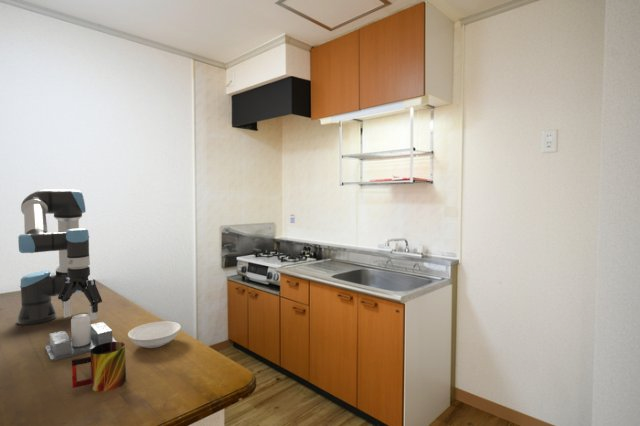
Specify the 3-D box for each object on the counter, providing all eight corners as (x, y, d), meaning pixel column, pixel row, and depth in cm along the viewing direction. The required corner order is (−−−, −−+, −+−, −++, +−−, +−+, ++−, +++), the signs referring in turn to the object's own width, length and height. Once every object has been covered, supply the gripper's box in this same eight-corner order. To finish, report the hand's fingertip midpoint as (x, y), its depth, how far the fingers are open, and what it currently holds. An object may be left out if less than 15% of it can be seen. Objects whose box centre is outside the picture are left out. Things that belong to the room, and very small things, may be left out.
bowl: (191, 338, 151) (191, 324, 151) (156, 359, 133) (155, 342, 132) (154, 332, 158) (154, 318, 158) (116, 351, 139) (115, 335, 139)
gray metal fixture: (45, 348, 142) (44, 334, 142) (106, 333, 158) (106, 320, 157) (51, 361, 131) (50, 346, 131) (117, 343, 146) (116, 330, 146)
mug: (71, 391, 111) (70, 353, 111) (117, 373, 122) (116, 339, 122) (84, 401, 106) (82, 362, 105) (131, 381, 117) (130, 346, 116)
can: (88, 346, 142) (87, 316, 141) (69, 348, 140) (68, 318, 139) (93, 339, 148) (91, 311, 148) (75, 342, 146) (73, 313, 146)
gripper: (46, 266, 142) (48, 318, 144) (94, 271, 136) (96, 325, 137) (63, 262, 149) (65, 311, 151) (111, 267, 143) (112, 318, 144)
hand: (80, 318), depth 144 cm, fingers open, 13 cm apart
